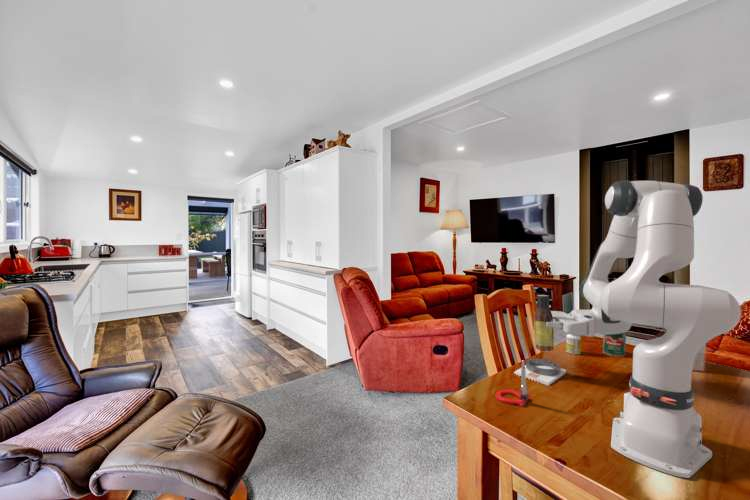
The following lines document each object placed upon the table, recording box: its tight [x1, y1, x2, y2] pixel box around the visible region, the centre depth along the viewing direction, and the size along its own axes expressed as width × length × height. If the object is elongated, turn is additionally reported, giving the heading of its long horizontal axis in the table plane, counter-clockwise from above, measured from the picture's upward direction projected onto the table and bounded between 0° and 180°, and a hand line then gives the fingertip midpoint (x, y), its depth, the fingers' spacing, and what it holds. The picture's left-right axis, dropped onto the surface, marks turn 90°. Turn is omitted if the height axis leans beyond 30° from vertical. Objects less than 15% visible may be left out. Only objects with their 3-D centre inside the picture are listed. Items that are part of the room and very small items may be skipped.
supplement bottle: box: [565, 333, 582, 355], centre depth 144 cm, size 5×5×10 cm
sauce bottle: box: [533, 294, 555, 352], centre depth 122 cm, size 7×6×20 cm
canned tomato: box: [602, 332, 627, 357], centre depth 142 cm, size 8×8×11 cm
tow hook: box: [495, 359, 531, 407], centre depth 103 cm, size 8×13×9 cm
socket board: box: [513, 358, 567, 386], centre depth 121 cm, size 16×12×3 cm
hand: (541, 321), depth 122 cm, fingers closed on sauce bottle, 6 cm apart
